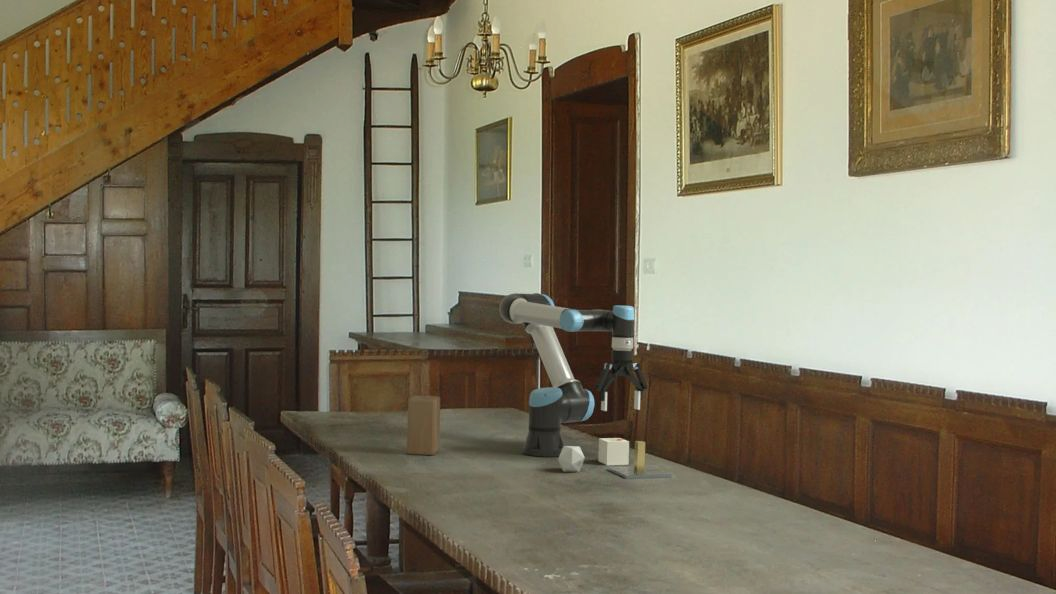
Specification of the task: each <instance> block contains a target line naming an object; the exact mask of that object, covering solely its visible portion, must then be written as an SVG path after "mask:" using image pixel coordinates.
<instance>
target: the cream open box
mask: <svg viewBox="0 0 1056 594" xmlns="http://www.w3.org/2000/svg"><path fill="white" fill-rule="evenodd" d="M629 456H630V441H629V440H626V439H625V438H621V437H612V438H611V437H607V438H606V437H603V438H601V437H600V438H598V457H597V458H598V460H597V461H598V462H599V463H601V464H603V465H605V466H629V461H630V460H629V459H630V457H629Z"/></svg>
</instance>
